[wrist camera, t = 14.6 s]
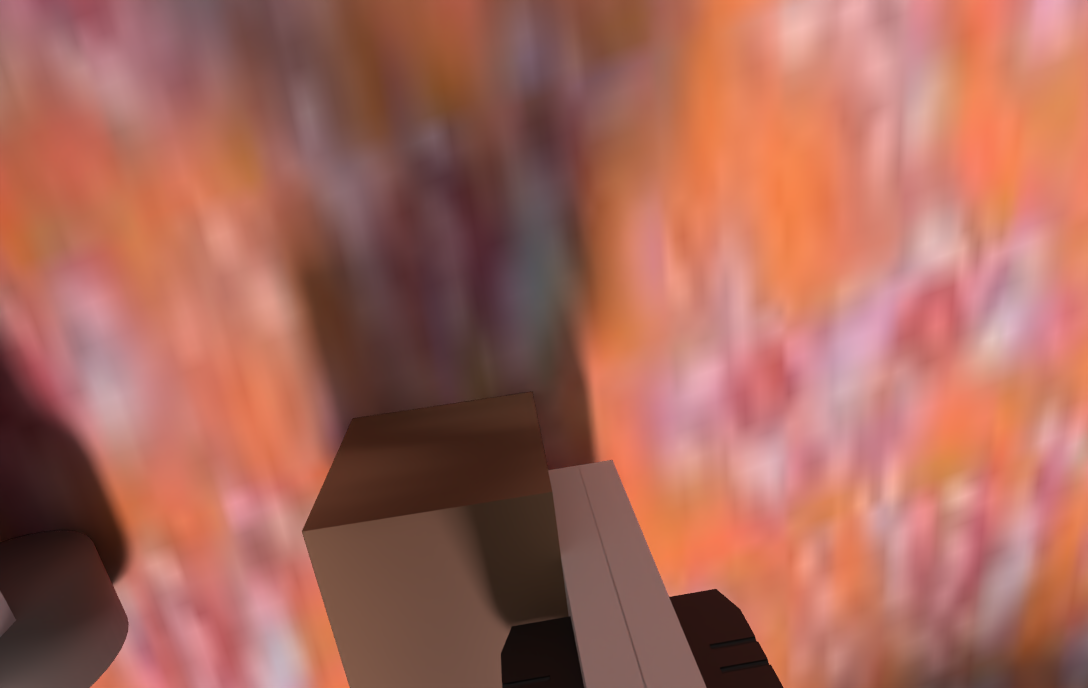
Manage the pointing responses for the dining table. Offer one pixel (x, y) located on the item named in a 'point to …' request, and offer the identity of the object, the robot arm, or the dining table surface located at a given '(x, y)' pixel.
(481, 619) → the block
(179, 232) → the dining table surface
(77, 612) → the trolley
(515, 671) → the robot arm
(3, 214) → the dining table surface
